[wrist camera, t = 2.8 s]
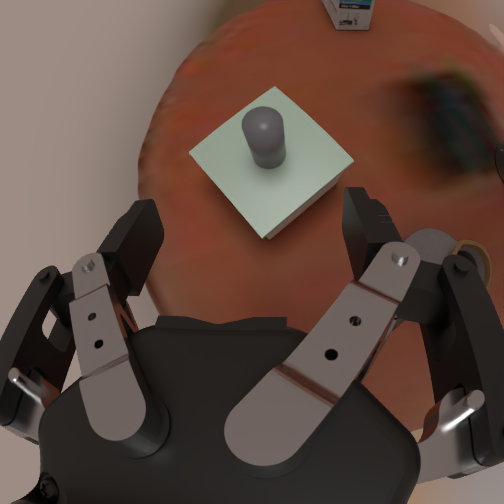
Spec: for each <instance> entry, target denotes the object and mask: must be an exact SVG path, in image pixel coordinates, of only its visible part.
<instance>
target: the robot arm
mask: <svg viewBox="0 0 504 504" xmlns="http://www.w3.org/2000/svg"><path fill="white" fill-rule="evenodd" d="M495 161H496V166H497V169H498V172H499V175H500V177H501V179H502V180H503V182H504V142H503V143H501V144H500V145H499V146H498V147H497V149H496V153H495ZM342 230H343V236H344V240H345V243H346V247H347V251H348V255H349V259H350V263H351V267H352V271H353V275H354V279H355V280H352V281H350V282H349V284H348V285H347V286H346V288H345V289H344V290H343V291H342V293H341V294H340V295H339V297H338V298H337V299H336V301H335V302H334V303H333V304H332V306H331V307H330V308H329V309H328V311H327V312H326V313H325V314H324V316H323V317H322V318H321V319H320V321H319V322H318V323H317V324H316V325H315V327H314V328H313V329H312V330H311V331H310V333H309V334H307V333H305V332H303V331H301V330H297V329H294V328H290V327H287V321H286V317H252V318H248V319H243V320H238V321H233V322H228V323H223V324H213V323H209V322H205V321H201V320H198V319H194V318H190V317H184V316H158V318H157V321H156V324H155V325H153V326H149V327H146V328H143V329H141V330H139V329H138V326H137V324H136V321H135V319H134V316H133V314H132V311H131V309H130V306H129V304H128V302H127V301H126V299H127V297H128V296H139V295H140V292H141V290H142V288H143V285H144V283H145V281H146V278H147V276H148V274H149V272H150V269H151V267H152V265H153V263H154V260H155V258H156V256H157V254H158V252H159V249H160V247H161V245H162V243H163V240H164V229H163V225H162V222H161V219H160V216H159V213H158V210H157V207H156V204H155V202H154V200H153V199H145V200H138V201H135V202H134V204H133V205H132V206H131V208H130V209H129V210H128V212H127V213H125V214H124V215H123V216H122V217H121V218H119V219H118V221H117V222H116V223H115V225H114V226H113V228H112V229H111V231H110V232H109V235H107V237H106V238H105V240H104V241H103V243H102V244H101V246H100V247H99V249H98V250H97V252H96V253H90V254H87V255H85V256H83V257H82V258H81V259H79V260H78V261H77V262H76V264H75V265H74V267H73V269H72V271H71V272H68V273H64V274H60V272H59V271H58V269H57V267H55V266H48V267H46V268H44V269H42V270H41V271H40V272H39V273H38V274H37V275H36V276H35V278H34V279H33V281H32V282H31V284H30V286H29V287H28V289H27V291H26V292H25V294H24V296H23V298H22V300H21V301H20V303H19V305H18V307H17V308H16V310H15V312H14V314H13V316H12V318H11V320H10V322H9V324H8V326H7V328H6V330H5V332H4V334H3V336H2V338H1V340H0V426H2V427H4V428H5V429H7V430H9V431H11V432H12V433H14V434H16V435H17V436H19V437H22V438H25V439H26V440H28V441H30V442H32V443H34V444H37V445H39V447H40V463H41V466H40V477H39V480H38V483H37V485H36V486H35V487H34V489H33V490H32V491H31V492H29V493H28V494H27V495H26V496H24V497H23V498H21V499H19V500H16V501H14V502H12V503H11V504H407V502H408V500H409V497H410V495H411V493H412V491H413V489H414V487H415V485H416V484H418V483H423V482H427V481H431V480H435V479H439V478H443V477H449V478H452V479H457V478H461V477H464V476H467V475H470V474H473V473H476V472H478V471H481V470H484V469H487V468H489V467H492V466H494V465H497V464H499V463H502V462H504V330H503V328H502V325H501V322H500V320H499V317H498V315H497V312H496V310H495V307H494V305H493V303H492V300H491V298H490V296H489V294H488V292H487V289H486V287H485V285H484V283H483V281H482V279H481V277H480V275H479V273H478V271H477V269H476V267H475V265H474V264H473V263H472V262H471V261H470V260H468V259H467V258H465V257H463V256H460V255H455V254H452V255H448V256H446V257H445V258H444V260H443V262H442V265H440V264H435V263H431V262H426V261H423V260H420V256H419V254H418V252H417V251H416V250H415V249H414V248H413V247H411V246H410V245H408V244H405V243H403V241H402V239H401V237H400V235H399V233H398V231H397V229H396V227H395V225H394V223H393V222H392V219H391V217H390V216H389V213H388V211H387V209H386V207H385V206H384V205H383V204H382V203H380V202H379V201H378V200H377V199H369V197H368V195H367V193H366V191H365V189H364V188H363V187H346V188H345V191H344V204H343V217H342ZM49 309H50V311H51V312H52V313H53V315H54V316H55V317H56V318H57V320H56V322H55V324H54V326H53V329H52V331H51V333H50V336H49V338H48V339H47V338H46V337H45V335H44V334H43V331H42V324H43V321H44V319H45V317H46V315H47V313H48V311H49ZM398 318H399V319H403V320H408V321H413V322H418V323H419V324H420V328H421V332H422V336H423V340H424V345H425V349H426V354H427V359H428V364H429V369H430V375H431V380H432V387H433V393H434V400H435V405H434V406H433V407H432V408H431V409H430V410H429V411H428V413H427V414H426V416H425V419H424V427H423V434H422V436H421V439H420V440H419V442H418V443H417V442H416V440H415V438H414V437H413V435H412V434H411V433H410V432H409V431H408V430H407V429H406V428H405V427H404V426H403V425H402V424H401V423H400V422H399V421H398V420H397V419H396V418H395V417H394V416H393V415H392V414H391V413H390V412H389V411H388V410H387V409H386V408H385V407H384V406H383V405H382V404H381V403H380V402H379V401H378V400H377V399H376V398H375V397H374V396H373V395H372V394H371V393H370V392H369V390H368V389H367V388H366V387H365V386H364V385H363V384H362V381H363V380H364V378H365V377H366V375H367V374H368V372H369V370H370V369H371V367H372V365H373V363H374V361H375V360H376V358H377V356H378V354H379V352H380V351H381V349H382V347H383V346H384V344H385V342H386V340H387V339H388V337H389V335H390V333H391V331H392V329H393V328H394V326H395V324H396V322H397V320H398ZM75 350H77V355H78V360H79V364H80V369H81V373H82V376H81V377H80V378H79V379H78V380H77V381H75V382H74V383H73V384H72V385H71V386H69V387H68V388H67V389H66V390H65V391H64V392H62V393H61V391H62V388H63V384H64V382H65V379H66V376H67V372H68V370H69V367H70V364H71V361H72V358H73V355H74V353H75Z"/></svg>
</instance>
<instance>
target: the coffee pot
mask: <svg viewBox="0 0 504 504" xmlns="http://www.w3.org/2000/svg"><path fill="white" fill-rule="evenodd" d="M403 243H405V244H408V245H410V246H411V247H413V248H414V249H415V250H416V251H417V252H418V254H419V256H420V260H423V261H426V262H431V263H435V264H440V265H442V262H443V260H444V258H445V257H446V256H448V255H452V254H455V255H460V256H463V257H465V258H467V259H468V260H470V261H471V262H472V263H473V264H474V265H475V267H476V269H477V271H478V273H479V275H480V277H481V279H482V281H483V283H484V285H485V287H486V289H487V291H488V289H489V287H490V284H491V281H492V274H493V271H492V262H491V258H490V256H489V253H488V251H487V250H486V249H485V247H484V246H483V245H481V244H480V243H479V242H476V241H473V240H459V241H458V242H457V241H456V240H455V239H453V238H452V237H451V236H449V235H448V234H446V233H445V232H443V231H441V230H437V229H434V228H430V229H422V230H419V231H416V232H414V233H413V234H412V235H410V236H409V237H408V238H406V240H405V241H404V242H403ZM403 321H404V320H403V319H399V318H398V320H397V322H396V324H395V326H394V328H393V329H392V331H393V330H394V329H395V328H397V327H398V326H399V325H400V324H401V323H402V322H403ZM392 331H391V332H392Z"/></svg>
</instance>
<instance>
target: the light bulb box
mask: <svg viewBox="0 0 504 504" xmlns="http://www.w3.org/2000/svg"><path fill="white" fill-rule="evenodd" d="M322 2H323V4H324V6H325V8H326V10H327V12H328V14H329V16H330V18H331V20H332V22H333V24H334V26H335V28H336V30H368V29H369V25H370V21H371V16H372V12H373V7H374V3H375V0H322Z"/></svg>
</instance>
